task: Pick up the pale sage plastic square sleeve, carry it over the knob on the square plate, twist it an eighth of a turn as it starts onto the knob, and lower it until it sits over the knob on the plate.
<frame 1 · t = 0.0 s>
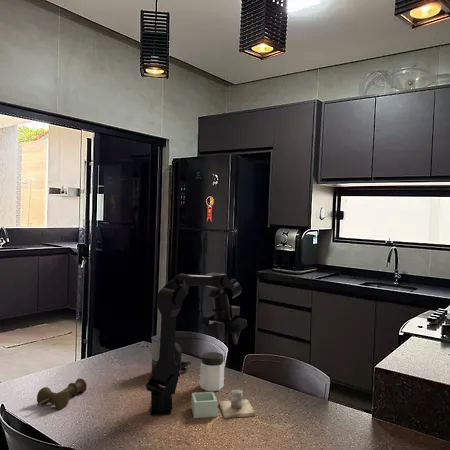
hand: (226, 341, 168), 15 cm above the table, tool pointing down, fingers open, 9 cm apart
knob on square plate: (236, 409, 143), on the table
milk frother: (171, 372, 177), on the table
sleeve: (203, 412, 141), on the table
jar: (211, 387, 162), on the table
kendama: (61, 402, 147), on the table
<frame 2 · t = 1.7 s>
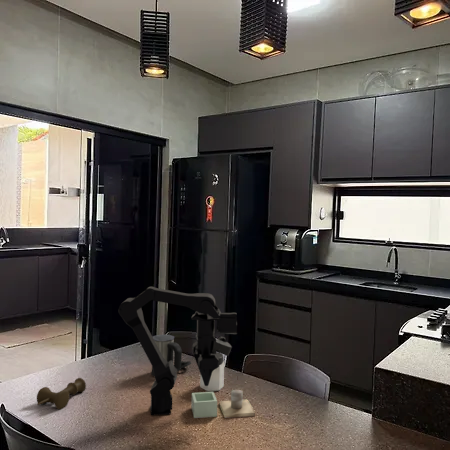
hand: (204, 380, 141), 11 cm above the table, tool pointing down, fingers open, 9 cm apart
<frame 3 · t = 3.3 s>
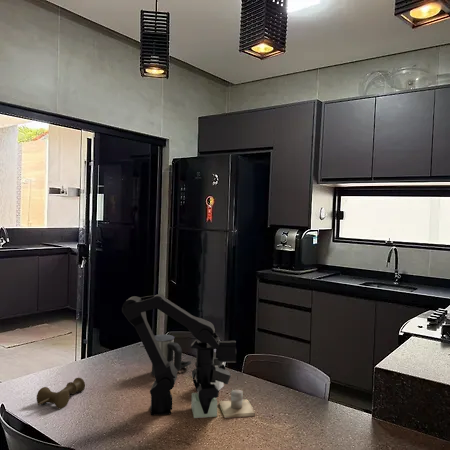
hand: (204, 408, 141), 1 cm above the table, tool pointing down, fingers closed on sleeve, 7 cm apart
sleeve: (203, 412, 141), on the table, touching gripper
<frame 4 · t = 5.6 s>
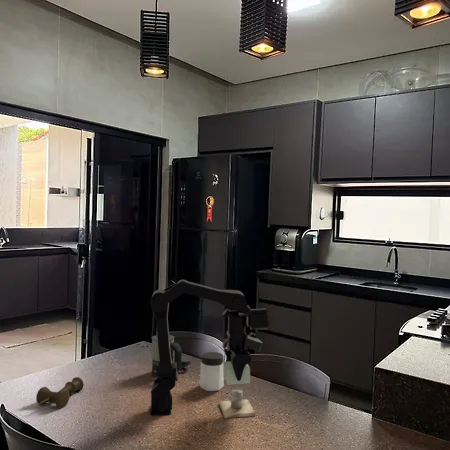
hand: (236, 376, 143), 11 cm above the table, tool pointing down, fingers closed on sleeve, 7 cm apart
sleeve: (236, 379, 143), point 10 cm above the table, touching gripper
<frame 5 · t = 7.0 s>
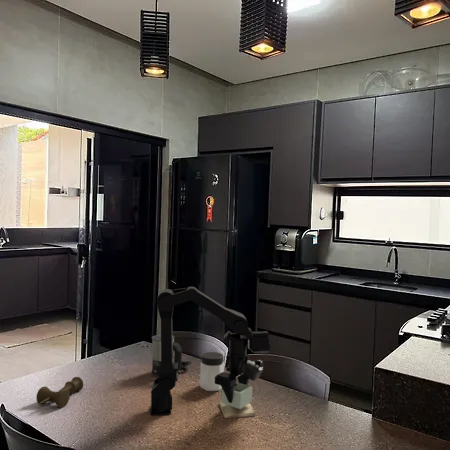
hand: (236, 398, 143), 4 cm above the table, tool pointing down, fingers closed on sleeve, 7 cm apart
sleeve: (236, 402, 143), point 3 cm above the table, touching gripper
when the fingers open (3 cm above the table, at t = 8.0 s): sleeve drops 1 cm, resting on knob on square plate.
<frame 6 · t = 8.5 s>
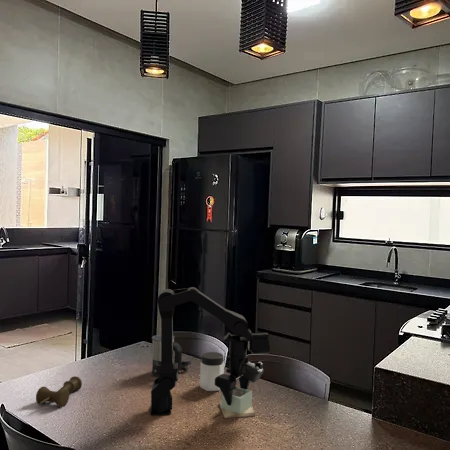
hand: (236, 400, 143), 3 cm above the table, tool pointing down, fingers open, 9 cm apart
sleeve: (236, 406, 143), point 1 cm above the table, touching knob on square plate
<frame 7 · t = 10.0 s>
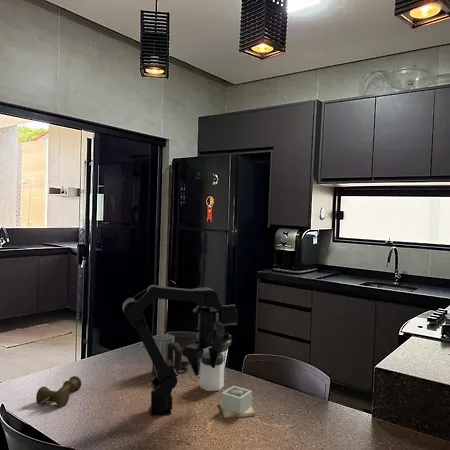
hand: (205, 371, 146), 12 cm above the table, tool pointing down, fingers open, 9 cm apart
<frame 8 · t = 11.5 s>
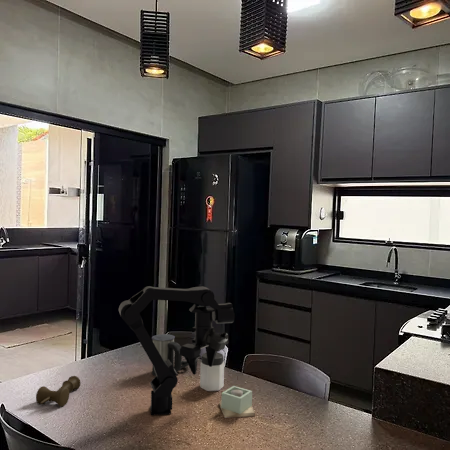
hand: (202, 370, 146), 12 cm above the table, tool pointing down, fingers open, 9 cm apart
at the end: sleeve 0.0 cm off-centre on the knob on square plate, point 1.0 cm above the knob on square plate's base; sleeve tilted 0°; the gripper is holding nothing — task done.
